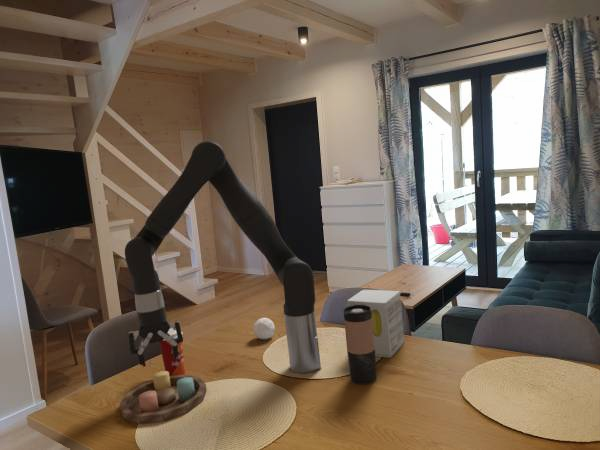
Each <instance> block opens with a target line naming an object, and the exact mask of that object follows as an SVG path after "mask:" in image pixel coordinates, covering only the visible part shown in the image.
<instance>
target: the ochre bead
mask: <svg viewBox="0 0 600 450" xmlns="http://www.w3.org/2000/svg"><path fill="white" fill-rule="evenodd" d="M153 380H154V387H155V391H156V392H157V391H159V390H162V389H167V388H171V384H170V377H169V372H168V371H165V370H163V371H161V370H160V371H157V372H155V373H154V374H153V375H152V381H153Z"/></svg>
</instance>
